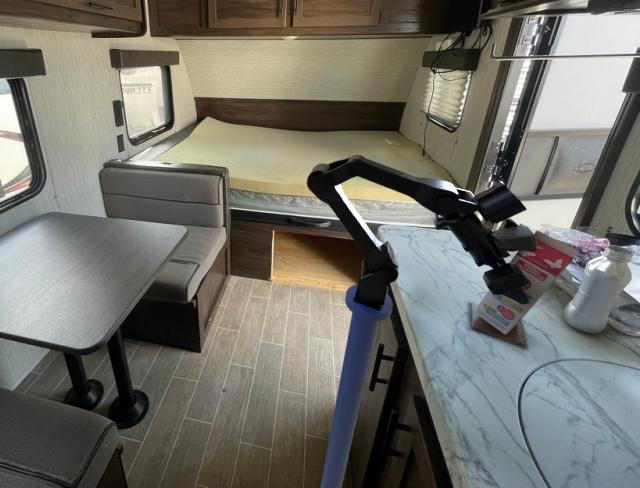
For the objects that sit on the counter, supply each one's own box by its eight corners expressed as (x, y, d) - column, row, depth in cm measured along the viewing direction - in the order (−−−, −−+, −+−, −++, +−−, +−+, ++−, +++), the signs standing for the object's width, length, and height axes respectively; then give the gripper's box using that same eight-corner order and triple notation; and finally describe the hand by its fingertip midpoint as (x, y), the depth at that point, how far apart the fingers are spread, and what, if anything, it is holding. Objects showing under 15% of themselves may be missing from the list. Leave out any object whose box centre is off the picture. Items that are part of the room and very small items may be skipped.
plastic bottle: (610, 339, 69) (656, 260, 61) (574, 335, 69) (615, 257, 62) (585, 317, 74) (624, 243, 67) (552, 313, 75) (587, 240, 68)
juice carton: (485, 302, 76) (542, 227, 66) (517, 324, 71) (583, 246, 61) (473, 311, 72) (531, 233, 62) (505, 335, 68) (574, 255, 57)
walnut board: (471, 328, 71) (472, 326, 71) (470, 304, 78) (471, 302, 78) (523, 347, 66) (525, 344, 66) (517, 320, 73) (519, 317, 73)
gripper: (533, 236, 55) (588, 304, 56) (498, 196, 71) (541, 249, 72) (467, 263, 61) (518, 325, 61) (448, 221, 77) (489, 270, 77)
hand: (517, 289), depth 68 cm, fingers open, 9 cm apart
